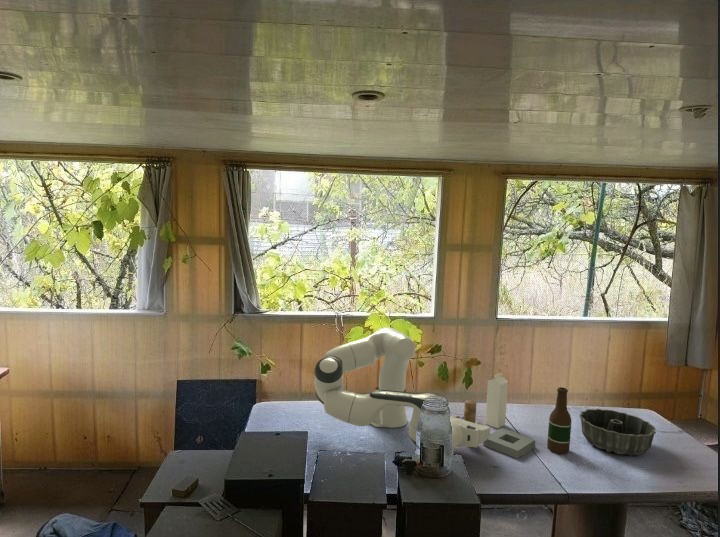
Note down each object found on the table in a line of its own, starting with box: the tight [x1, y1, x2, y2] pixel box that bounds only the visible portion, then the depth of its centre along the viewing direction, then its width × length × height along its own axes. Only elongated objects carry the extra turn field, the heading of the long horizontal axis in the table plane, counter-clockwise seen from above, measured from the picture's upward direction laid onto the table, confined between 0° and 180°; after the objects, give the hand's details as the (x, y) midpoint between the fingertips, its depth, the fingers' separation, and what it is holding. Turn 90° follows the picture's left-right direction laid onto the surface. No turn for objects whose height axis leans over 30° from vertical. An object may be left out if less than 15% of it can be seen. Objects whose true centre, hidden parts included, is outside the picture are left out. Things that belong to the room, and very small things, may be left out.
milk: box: [485, 372, 509, 430], centre depth 201 cm, size 6×6×22 cm
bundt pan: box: [579, 408, 657, 457], centre depth 186 cm, size 26×26×10 cm
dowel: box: [463, 399, 477, 423], centre depth 183 cm, size 4×4×16 cm
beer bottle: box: [546, 386, 572, 455], centre depth 179 cm, size 8×8×24 cm
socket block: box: [482, 427, 536, 459], centre depth 182 cm, size 14×14×3 cm
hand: (469, 420), depth 182 cm, fingers open, 8 cm apart
